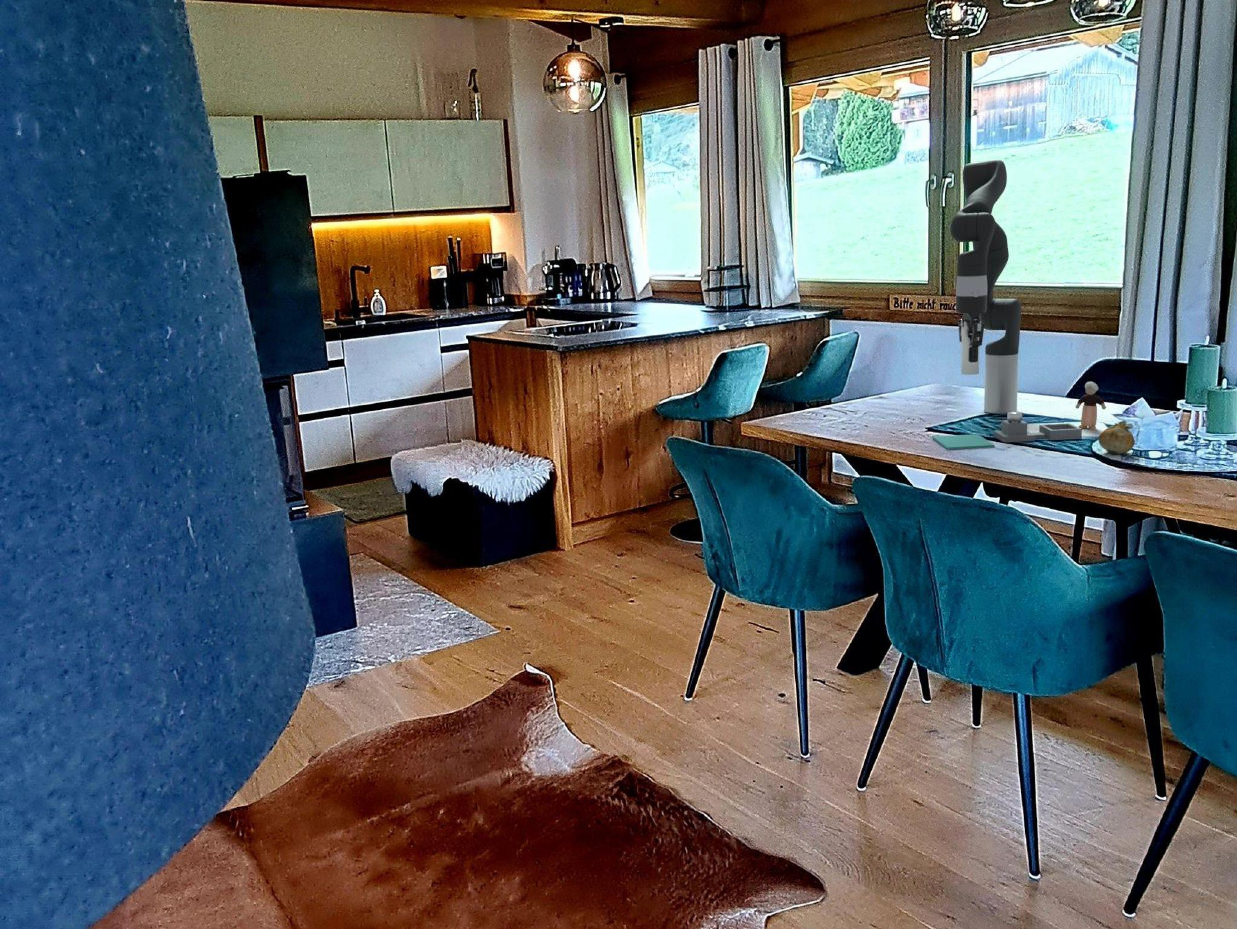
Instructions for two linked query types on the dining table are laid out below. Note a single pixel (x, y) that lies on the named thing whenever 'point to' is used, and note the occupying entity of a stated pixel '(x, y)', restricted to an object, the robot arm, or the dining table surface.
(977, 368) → the cylinder
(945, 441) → the mat
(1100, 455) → the dining table surface
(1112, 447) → the onion
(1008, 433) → the dock
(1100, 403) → the grandmother figurine
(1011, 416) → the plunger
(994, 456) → the dining table surface
